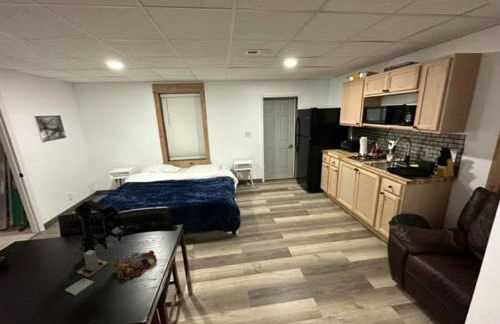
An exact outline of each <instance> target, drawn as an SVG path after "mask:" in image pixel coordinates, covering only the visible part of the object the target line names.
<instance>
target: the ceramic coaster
mask: <svg viewBox="0 0 500 324" xmlns="http://www.w3.org/2000/svg"><path fill="white" fill-rule="evenodd" d="M94 283H95V282H94V281H93V280H90V279H87V278H85V277H83V278H81V279H79V280H78V281H76V282H75V283H73V284H72V285H70V286H69V287H66V288H65V289H64V292H67V293H69V294H71V295H73V296H77V295H79V293H82V292H83V291H84V290H85V289H87V288H88V287H90V286H91V285H93V284H94Z"/></svg>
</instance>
